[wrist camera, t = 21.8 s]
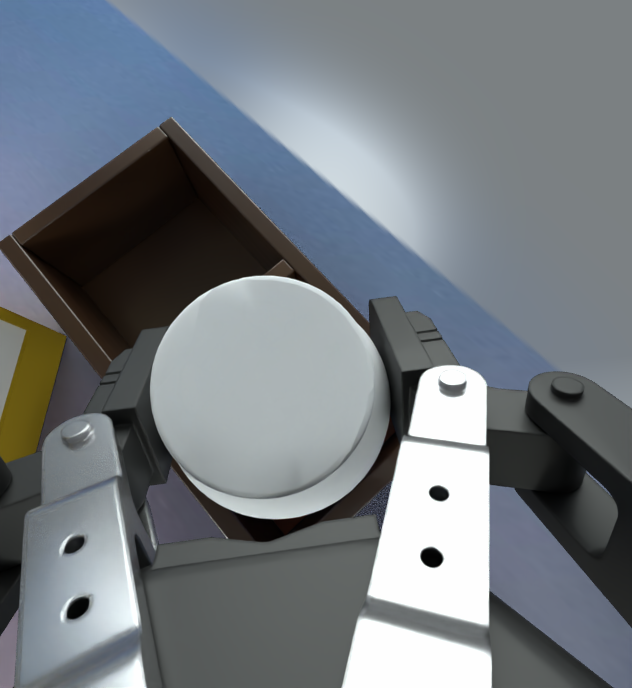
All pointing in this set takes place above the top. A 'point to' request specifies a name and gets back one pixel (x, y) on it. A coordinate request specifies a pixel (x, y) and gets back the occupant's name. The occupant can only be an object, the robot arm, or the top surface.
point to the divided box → (167, 274)
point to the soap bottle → (25, 381)
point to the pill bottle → (270, 397)
